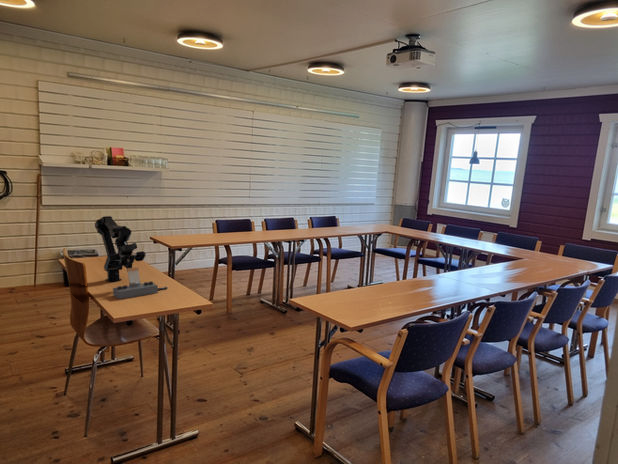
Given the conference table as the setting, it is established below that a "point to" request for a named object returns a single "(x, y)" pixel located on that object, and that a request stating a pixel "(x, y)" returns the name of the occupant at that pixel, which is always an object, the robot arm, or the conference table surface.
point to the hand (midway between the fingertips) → (131, 270)
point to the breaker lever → (133, 276)
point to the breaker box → (136, 290)
